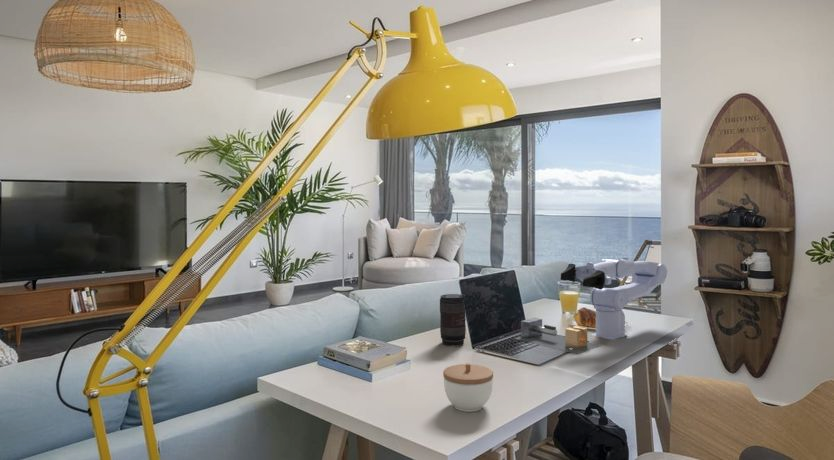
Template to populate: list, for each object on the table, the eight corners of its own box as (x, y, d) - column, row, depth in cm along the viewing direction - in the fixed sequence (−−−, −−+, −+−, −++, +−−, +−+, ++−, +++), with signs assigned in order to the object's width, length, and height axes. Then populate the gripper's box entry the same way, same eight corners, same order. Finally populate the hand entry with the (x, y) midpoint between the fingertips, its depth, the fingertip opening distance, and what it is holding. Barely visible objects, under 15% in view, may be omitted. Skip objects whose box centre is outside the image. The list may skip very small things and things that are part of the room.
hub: (575, 343, 164) (575, 325, 164) (587, 346, 161) (587, 328, 161) (565, 346, 160) (565, 328, 160) (576, 349, 157) (577, 331, 157)
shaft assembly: (534, 333, 177) (534, 317, 176) (561, 339, 169) (561, 323, 168) (521, 337, 172) (521, 320, 172) (548, 343, 164) (548, 326, 164)
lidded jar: (459, 394, 124) (459, 354, 124) (501, 403, 118) (501, 361, 118) (434, 409, 116) (433, 366, 115) (478, 420, 110) (478, 375, 109)
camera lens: (466, 340, 172) (465, 293, 171) (465, 347, 164) (465, 298, 163) (440, 339, 172) (440, 293, 172) (439, 346, 164) (438, 297, 164)
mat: (539, 333, 179) (539, 331, 179) (601, 347, 161) (601, 345, 161) (513, 340, 171) (513, 338, 171) (576, 355, 153) (576, 353, 153)
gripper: (578, 255, 173) (553, 261, 164) (620, 265, 162) (596, 272, 154) (576, 276, 174) (551, 283, 166) (618, 287, 164) (593, 296, 155)
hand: (572, 279), depth 160 cm, fingers open, 7 cm apart
